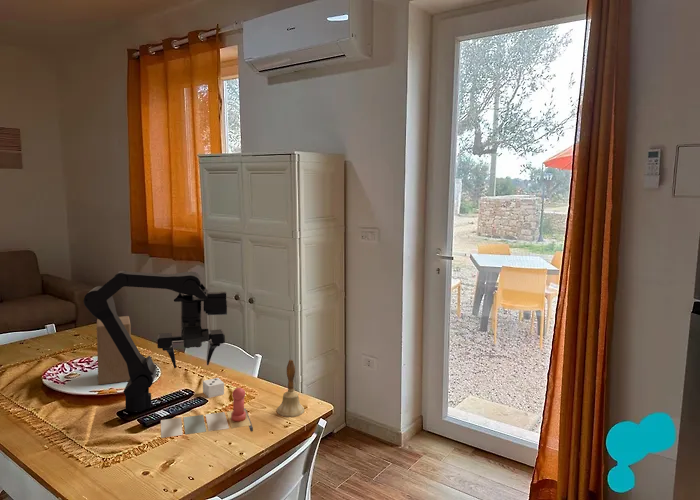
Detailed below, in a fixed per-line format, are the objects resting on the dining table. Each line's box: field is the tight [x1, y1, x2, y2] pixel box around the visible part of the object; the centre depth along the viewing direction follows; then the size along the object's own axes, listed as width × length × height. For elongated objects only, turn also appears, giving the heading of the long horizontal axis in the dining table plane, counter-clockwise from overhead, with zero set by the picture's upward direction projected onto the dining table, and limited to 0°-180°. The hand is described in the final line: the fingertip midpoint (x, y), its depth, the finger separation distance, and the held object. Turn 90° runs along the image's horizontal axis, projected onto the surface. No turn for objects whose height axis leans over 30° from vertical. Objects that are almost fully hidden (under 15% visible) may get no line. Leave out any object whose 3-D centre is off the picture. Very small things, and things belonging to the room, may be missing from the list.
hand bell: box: [276, 359, 305, 418], centre depth 149 cm, size 8×8×16 cm
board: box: [160, 407, 254, 439], centre depth 139 cm, size 24×12×1 cm, turn 111°
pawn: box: [231, 387, 246, 422], centre depth 141 cm, size 4×4×9 cm
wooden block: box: [96, 315, 132, 385], centre depth 168 cm, size 10×10×20 cm
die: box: [202, 377, 225, 398], centre depth 157 cm, size 5×5×5 cm
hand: (191, 366), depth 148 cm, fingers open, 9 cm apart
